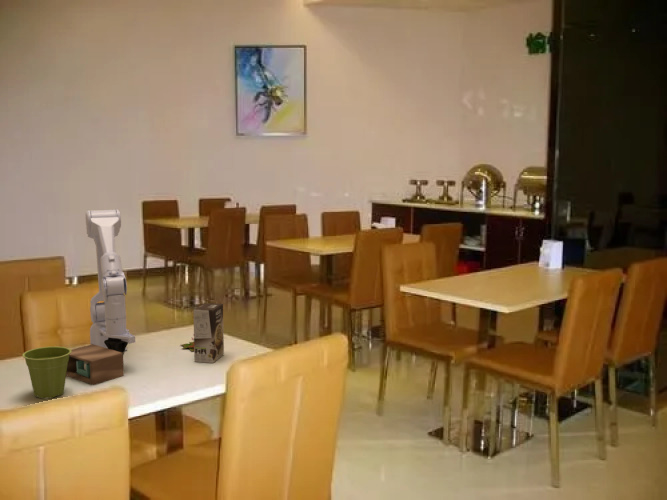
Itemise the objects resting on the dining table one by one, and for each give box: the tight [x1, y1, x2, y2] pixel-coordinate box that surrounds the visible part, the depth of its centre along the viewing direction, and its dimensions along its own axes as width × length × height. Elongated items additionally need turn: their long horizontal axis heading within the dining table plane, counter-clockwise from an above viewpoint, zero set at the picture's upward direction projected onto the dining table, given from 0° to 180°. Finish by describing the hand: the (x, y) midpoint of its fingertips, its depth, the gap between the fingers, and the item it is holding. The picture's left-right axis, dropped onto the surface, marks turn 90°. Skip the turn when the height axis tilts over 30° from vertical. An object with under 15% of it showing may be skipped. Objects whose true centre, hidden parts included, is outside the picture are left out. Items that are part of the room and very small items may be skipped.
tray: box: [76, 360, 90, 378], centre depth 208 cm, size 5×10×4 cm, turn 143°
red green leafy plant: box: [181, 337, 194, 352], centre depth 235 cm, size 12×12×5 cm
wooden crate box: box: [66, 343, 125, 386], centre depth 207 cm, size 14×10×7 cm
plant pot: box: [22, 346, 72, 399], centre depth 191 cm, size 12×12×11 cm
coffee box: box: [193, 302, 225, 364], centre depth 222 cm, size 9×6×16 cm
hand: (117, 363), depth 214 cm, fingers closed, pressing on tray
